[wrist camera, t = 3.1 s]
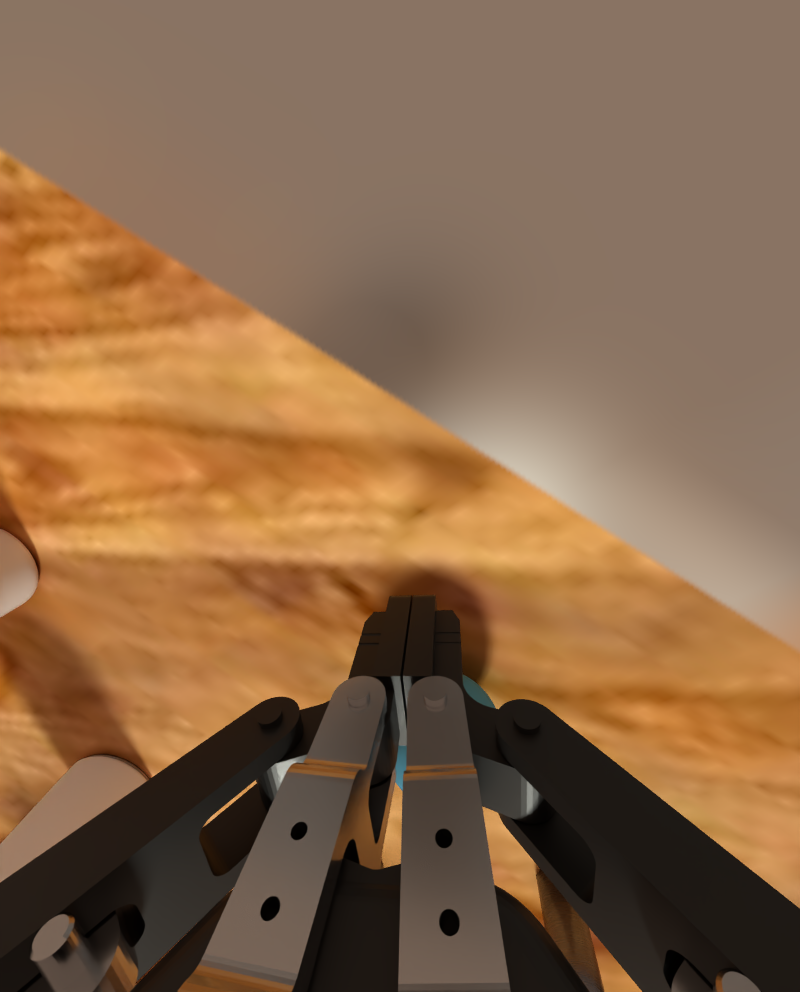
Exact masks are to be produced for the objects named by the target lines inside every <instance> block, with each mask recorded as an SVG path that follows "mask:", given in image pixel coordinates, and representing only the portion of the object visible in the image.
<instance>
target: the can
mask: <svg viewBox="0 0 800 992" xmlns="http://www.w3.org/2000/svg"><path fill="white" fill-rule="evenodd" d="M148 780H149V778H148V777H147V776H146V775H145V774H144V773H143V772H142V771H141V770H140V769H139V768H138V767H136V766H135V765H133V764H132V763H130V762H128V761H126V760H124V759H122V758H119V757H116V756H111V755H102V754H101V755H93V756H90V757H87V758H83V759H81V760H79V761H77V762H76V763H75V764H74V765H73V766H72V767H71V768H70V769H69V770H68V771H67V772H66V773H65V774H64V775H63V776H62V777H61V778H60V779H59V781H58V782H57V783H56V784H55V785H54V786H53V787H52V788H51V789H50V790H49V791H48V792H47V793H46V795H45V796H44V797H43V798H42V799H41V800H40V801H39V802H38V803H37V804H36V805H35V807H34V808H33V809H32V810H31V811H30V812H29V813H28V814H27V815H26V816H25V817H24V818H23V820H22V821H21V822H20V823H19V824H18V825H17V826H16V827H15V828H14V829H13V830H12V832H11V833H10V834H9V835H8V836H7V837H6V838H5V839H4V840H3V841H2V842H1V844H0V882H2V881H3V880H4V879H6V878H7V877H9V876H10V875H12V874H13V873H15V872H16V871H17V870H19V869H20V868H22V867H23V866H25V865H26V864H28V863H29V862H31V861H32V860H33V859H35V858H36V857H38V856H39V855H41V854H42V853H44V852H45V851H46V850H48V849H49V848H51V847H52V846H54V845H55V844H57V843H58V842H59V841H61V840H62V839H64V838H65V837H67V836H68V835H70V834H71V833H72V832H74V831H75V830H77V829H78V828H80V827H81V826H83V825H84V824H86V823H87V822H88V821H90V820H91V819H93V818H94V817H96V816H97V815H99V814H100V813H101V812H103V811H104V810H106V809H107V808H109V807H110V806H112V805H113V804H114V803H116V802H117V801H119V800H120V799H122V798H123V797H125V796H126V795H128V794H129V793H130V792H132V791H133V790H135V789H136V788H138V787H139V786H141V785H142V784H143V783H145V782H146V781H148Z"/></svg>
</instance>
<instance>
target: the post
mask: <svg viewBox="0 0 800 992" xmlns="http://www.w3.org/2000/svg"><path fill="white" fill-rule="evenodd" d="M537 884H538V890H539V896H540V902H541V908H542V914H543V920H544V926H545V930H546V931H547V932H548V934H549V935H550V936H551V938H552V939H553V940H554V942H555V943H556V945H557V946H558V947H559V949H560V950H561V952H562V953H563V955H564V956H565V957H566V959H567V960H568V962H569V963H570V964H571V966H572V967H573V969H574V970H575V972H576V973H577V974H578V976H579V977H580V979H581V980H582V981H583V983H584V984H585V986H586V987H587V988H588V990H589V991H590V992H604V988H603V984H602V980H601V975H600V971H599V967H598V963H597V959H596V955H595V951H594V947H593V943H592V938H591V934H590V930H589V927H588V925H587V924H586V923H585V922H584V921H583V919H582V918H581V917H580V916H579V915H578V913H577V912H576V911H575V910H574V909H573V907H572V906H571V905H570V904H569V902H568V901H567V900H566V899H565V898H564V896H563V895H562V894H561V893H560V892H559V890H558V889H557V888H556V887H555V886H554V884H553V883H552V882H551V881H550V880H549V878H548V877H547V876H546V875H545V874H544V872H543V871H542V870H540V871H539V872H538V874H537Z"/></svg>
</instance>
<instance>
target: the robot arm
mask: <svg viewBox="0 0 800 992" xmlns="http://www.w3.org/2000/svg"><path fill="white" fill-rule="evenodd" d="M398 746H407V754H406V771H404V774H403V799H402V843H401V864H399V865H395V866H391V867H387V868H383V869H381V856H382V850H383V844H384V839H385V834H386V828H387V823H388V818H389V813H390V807H391V802H392V797H393V792H394V786H395V781H396V775H397V771H396V762H397V755H398ZM255 780H256V782H257V784H255V785H254V786H253V787H252V788H251V789H249V790H248V791H247V792H246V793H245V794H243V795H242V796H241V797H240V798H239V799H237V800H236V801H235V802H234V803H233V804H231V805H230V806H229V807H228V808H226V809H225V810H224V811H223V812H222V813H220V814H219V815H218V816H217V817H216V818H214V819H213V820H212V821H211V822H210V823H208V824H207V825H206V826H204V824H205V823H206V821H207V820H208V819H209V818H210V817H211V816H212V815H213V814H215V813H216V812H217V811H218V810H219V809H221V808H222V807H223V806H224V805H226V804H227V803H228V802H229V801H230V800H232V799H233V798H234V797H235V796H237V795H238V794H239V793H240V792H241V791H243V790H244V789H245V788H246V787H247V786H249V785H250V784H251V783H252V782H254V781H255ZM482 806H483V807H486V808H488V809H491V810H493V811H496V812H498V813H499V816H500V818H501V820H502V822H503V824H504V825H505V826H506V828H507V829H508V830H509V831H510V833H511V834H512V835H513V836H514V837H515V839H516V840H517V841H518V842H519V843H520V845H521V846H522V847H523V848H524V850H525V851H526V852H527V853H528V854H529V856H530V857H531V858H532V859H533V860H534V862H535V863H536V864H537V865H538V866H539V868H540V869H541V870H542V871H543V872H544V874H545V875H546V876H547V877H548V878H549V880H550V881H551V882H552V883H553V884H554V886H555V887H556V888H557V889H558V890H559V892H560V893H561V894H562V895H563V896H564V898H565V899H566V900H567V901H568V902H569V904H570V905H571V906H572V907H573V909H574V910H575V911H576V912H577V913H578V915H579V916H580V917H581V918H582V919H583V921H584V922H585V923H586V924H587V925H588V927H589V928H590V929H591V930H592V931H593V933H594V934H595V935H596V936H597V937H598V939H599V940H600V941H601V942H602V943H603V945H604V946H605V947H606V948H607V949H608V951H609V952H610V953H611V954H612V955H613V957H614V958H615V959H616V960H617V962H618V963H619V964H620V965H621V966H622V968H623V969H624V970H625V971H626V972H627V974H628V975H629V976H630V977H631V978H632V980H633V981H634V982H635V983H636V984H637V986H638V987H639V988H640V989H641V990H642V992H800V909H799V908H798V907H797V906H796V905H794V904H793V903H792V902H791V901H789V900H788V899H787V898H786V897H784V896H783V895H782V894H781V893H779V892H778V891H777V890H776V889H774V888H773V887H772V886H771V885H769V884H768V883H767V882H765V881H764V880H763V879H762V878H760V877H759V876H758V875H757V874H755V873H754V872H753V871H752V870H750V869H749V868H748V867H747V866H745V865H744V864H743V863H742V862H740V861H739V860H738V859H737V858H735V857H734V856H733V855H731V854H730V853H729V852H728V851H726V850H725V849H724V848H723V847H721V846H720V845H719V844H718V843H716V842H715V841H714V840H713V839H711V838H710V837H709V836H708V835H706V834H705V833H704V832H702V831H701V830H700V829H699V828H697V827H696V826H695V825H694V824H692V823H691V822H690V821H689V820H687V819H686V818H685V817H684V816H682V815H681V814H680V813H679V812H677V811H676V810H675V809H674V808H672V807H671V806H670V805H668V804H667V803H666V802H665V801H663V800H662V799H661V798H660V797H658V796H657V795H656V794H655V793H653V792H652V791H651V790H650V789H648V788H647V787H646V786H645V785H643V784H642V783H641V782H639V781H638V780H637V779H636V778H634V777H633V776H632V775H631V774H629V773H628V772H627V771H626V770H624V769H623V768H622V767H621V766H619V765H618V764H617V763H616V762H614V761H613V760H612V759H611V758H609V757H608V756H607V755H605V754H604V753H603V752H602V751H600V750H599V749H598V748H597V747H595V746H594V745H593V744H592V743H590V742H589V741H588V740H587V739H585V738H584V737H583V736H582V735H580V734H579V733H578V732H577V731H575V730H574V729H573V728H571V727H570V726H569V725H568V724H566V723H565V722H564V721H563V720H561V719H560V718H559V717H558V716H556V715H555V714H554V713H553V712H551V711H550V710H549V709H548V708H546V707H545V706H543V705H541V704H539V703H537V702H534V701H531V700H525V699H517V700H512V701H509V702H507V703H505V704H504V705H502V706H501V707H500V708H499V710H498V709H495V708H492V707H488V706H485V705H483V704H481V703H479V702H477V701H476V700H474V699H473V698H472V697H471V696H470V695H469V694H468V693H467V691H466V690H465V688H464V685H463V673H462V655H461V638H460V621H459V619H458V618H457V616H456V615H455V613H454V612H453V611H452V610H441V611H437V603H436V595H414V596H413V597H412V596H390V597H389V601H388V605H387V610H386V612H374V613H373V614H372V615H371V616H370V617H369V618H368V619H367V620H366V622H365V624H364V627H363V630H362V636H361V637H360V641H359V646H358V647H357V651H356V654H355V658H354V661H353V664H352V668H351V671H350V675H349V678H348V680H346V681H344V682H343V683H342V684H340V685H339V686H338V687H337V688H336V690H335V691H334V693H333V695H332V697H331V700H330V701H328V702H326V703H323V704H320V705H317V706H313V707H310V708H306V709H302V710H299V706H298V704H297V703H296V702H295V701H294V700H293V699H290V698H287V697H274V698H270V699H268V700H265V701H263V702H261V703H260V704H258V705H256V706H255V707H253V708H252V709H251V710H249V711H248V712H246V713H245V714H243V715H242V716H240V717H239V718H238V719H236V720H235V721H233V722H232V723H230V724H229V725H227V726H226V727H225V728H223V729H222V730H220V731H219V732H217V733H216V734H214V735H213V736H211V737H210V738H209V739H207V740H206V741H204V742H203V743H201V744H200V745H198V746H197V747H196V748H194V749H193V750H191V751H190V752H188V753H187V754H185V755H184V756H183V757H181V758H180V759H178V760H177V761H175V762H174V763H172V764H171V765H169V766H168V767H167V768H165V769H164V770H162V771H161V772H159V773H158V774H156V775H155V776H154V777H152V778H151V779H149V780H148V781H146V782H145V783H143V784H142V785H141V786H139V787H138V788H136V789H135V790H133V791H132V792H130V793H129V794H128V795H126V796H125V797H123V798H122V799H120V800H119V801H117V802H116V803H114V804H113V805H112V806H110V807H109V808H107V809H106V810H104V811H103V812H101V813H100V814H99V815H97V816H96V817H94V818H93V819H91V820H90V821H88V822H87V823H86V824H84V825H83V826H81V827H80V828H78V829H77V830H75V831H74V832H72V833H71V834H70V835H68V836H67V837H65V838H64V839H62V840H61V841H59V842H58V843H57V844H55V845H54V846H52V847H51V848H49V849H48V850H46V851H45V852H44V853H42V854H41V855H39V856H38V857H36V858H35V859H33V860H32V861H31V862H29V863H28V864H26V865H25V866H23V867H22V868H20V869H19V870H17V871H16V872H15V873H13V874H12V875H10V876H9V877H7V878H6V879H4V880H3V881H2V882H0V992H590V991H589V990H588V988H587V987H586V986H585V984H584V983H583V981H582V980H581V979H580V977H579V976H578V974H577V973H576V972H575V970H574V969H573V967H572V966H571V964H570V963H569V962H568V960H567V959H566V957H565V956H564V955H563V953H562V952H561V950H560V949H559V947H558V946H557V945H556V943H555V942H554V940H553V939H552V938H551V936H550V935H549V934H548V932H547V931H546V930H545V928H544V927H543V926H542V924H541V923H540V922H539V921H538V920H537V919H536V917H535V916H534V915H533V914H532V913H531V912H530V911H529V910H528V909H527V908H526V907H525V906H524V905H523V904H522V903H520V902H519V901H518V900H517V899H516V898H514V897H513V896H512V895H510V894H509V893H508V892H506V891H505V890H503V889H501V888H499V887H497V886H496V885H494V880H493V874H492V867H491V861H490V854H489V848H488V841H487V835H486V828H485V822H484V815H483V809H482ZM203 826H204V827H203ZM202 827H203V828H202ZM233 888H234V889H233ZM232 889H233V890H232ZM230 890H232V891H230ZM229 891H230V892H229ZM228 892H229V893H228ZM227 893H228V894H227ZM226 894H227V895H226ZM225 895H226V896H225ZM197 922H198V923H197ZM196 923H197V924H196ZM195 924H196V925H195ZM194 925H195V926H194ZM193 926H194V927H193ZM192 927H193V928H192ZM191 928H192V929H191ZM190 929H191V930H190ZM189 930H190V931H189ZM188 931H189V932H188ZM187 932H188V933H187ZM186 933H187V934H186ZM185 934H186V935H185ZM184 935H185V936H184ZM183 936H184V937H183ZM182 937H183V938H182ZM181 938H182V939H181ZM180 939H181V940H180ZM179 940H180V941H179ZM178 941H179V942H178ZM177 942H178V943H177ZM176 943H177V944H176ZM175 944H176V945H175ZM174 945H175V946H174ZM173 946H174V947H173ZM172 947H173V948H172ZM171 948H172V949H171ZM170 949H171V950H170ZM169 950H170V951H169ZM168 951H169V952H168ZM167 952H168V953H167ZM166 953H167V954H166ZM165 954H166V955H165ZM163 955H165V956H164V957H163V958H162V959H161V961H160V962H159V963H158V964H157V965H156V966H155V967H154V968H153V969H152V970H151V971H150V972H149V973H148V974H147V975H146V976H145V977H144V978H143V979H142V980H141V981H140V982H139V983H138V984H137V985H136V986H135V984H136V982H137V981H138V980H139V979H140V978H141V977H142V976H143V975H144V974H145V973H146V972H147V971H148V970H149V969H150V968H151V967H152V966H153V965H154V964H155V963H156V962H157V961H158V960H159V959H160V958H161V957H162V956H163Z"/></svg>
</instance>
